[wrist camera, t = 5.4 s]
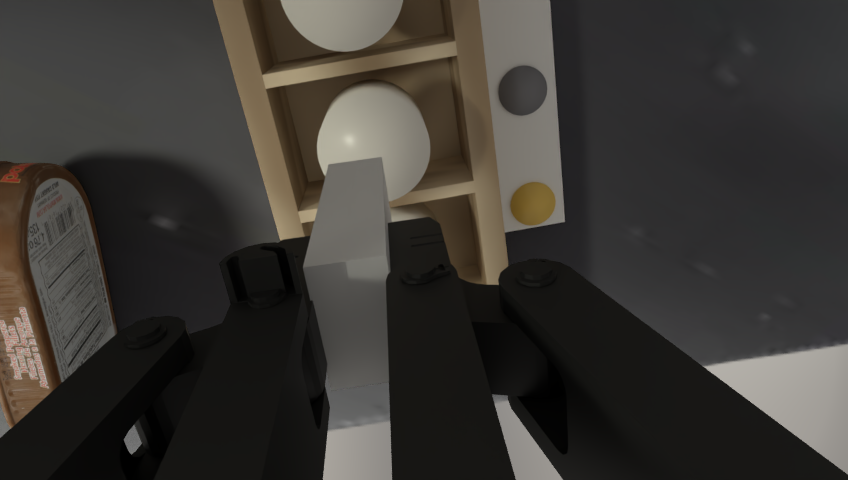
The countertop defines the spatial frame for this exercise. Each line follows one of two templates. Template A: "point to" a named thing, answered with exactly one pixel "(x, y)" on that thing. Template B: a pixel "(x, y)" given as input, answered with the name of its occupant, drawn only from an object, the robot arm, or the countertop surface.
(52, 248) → the tin
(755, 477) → the robot arm
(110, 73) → the countertop surface
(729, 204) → the countertop surface
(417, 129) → the button
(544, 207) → the card
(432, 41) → the wooden compartment tray
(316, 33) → the button
